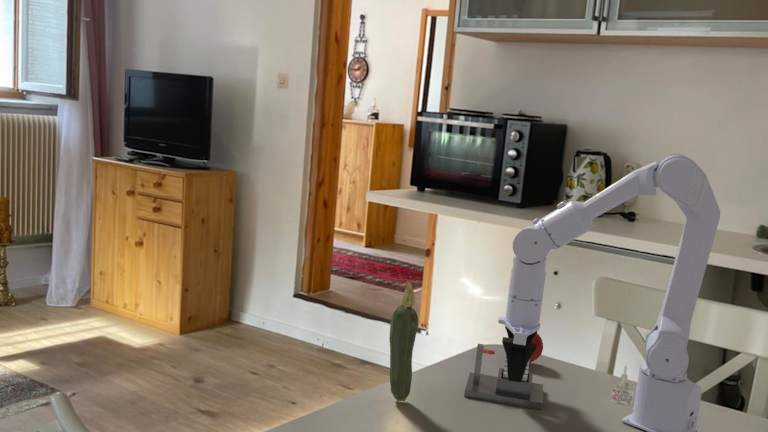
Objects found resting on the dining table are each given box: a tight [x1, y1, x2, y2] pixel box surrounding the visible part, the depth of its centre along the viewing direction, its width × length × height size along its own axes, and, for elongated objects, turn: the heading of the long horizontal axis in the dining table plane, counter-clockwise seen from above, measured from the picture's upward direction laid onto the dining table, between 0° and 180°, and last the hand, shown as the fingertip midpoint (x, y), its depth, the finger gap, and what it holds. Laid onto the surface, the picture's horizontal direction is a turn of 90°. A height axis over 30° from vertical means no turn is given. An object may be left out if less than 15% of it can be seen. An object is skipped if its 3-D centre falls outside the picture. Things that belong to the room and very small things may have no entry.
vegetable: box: [388, 280, 419, 403], centre depth 118 cm, size 4×4×20 cm
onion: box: [529, 332, 544, 364], centre depth 144 cm, size 6×6×8 cm
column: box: [503, 356, 530, 382], centre depth 127 cm, size 4×4×6 cm
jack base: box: [463, 343, 544, 411], centre depth 127 cm, size 13×9×8 cm
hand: (515, 373), depth 127 cm, fingers open, 7 cm apart
